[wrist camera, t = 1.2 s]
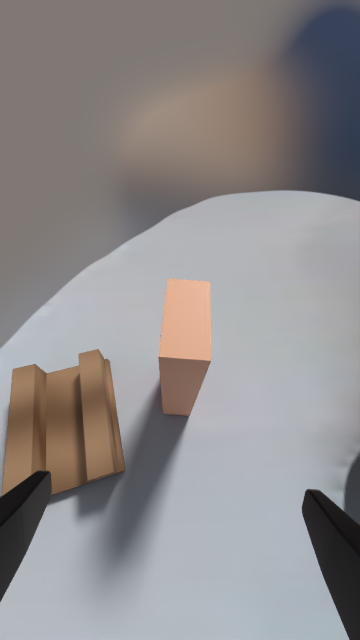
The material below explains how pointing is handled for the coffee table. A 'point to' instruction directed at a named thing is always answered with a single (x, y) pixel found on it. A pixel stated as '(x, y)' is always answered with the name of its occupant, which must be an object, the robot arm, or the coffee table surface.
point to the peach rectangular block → (184, 344)
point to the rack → (63, 425)
